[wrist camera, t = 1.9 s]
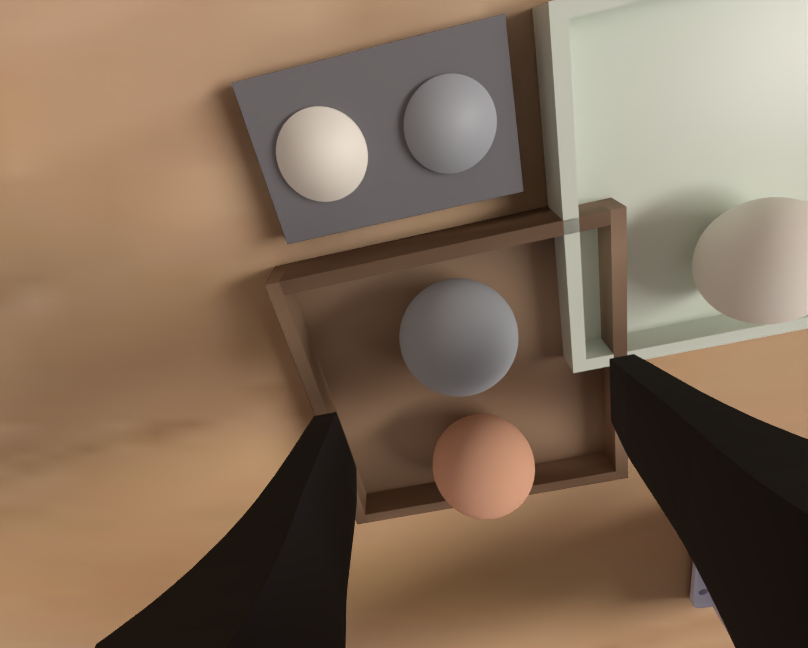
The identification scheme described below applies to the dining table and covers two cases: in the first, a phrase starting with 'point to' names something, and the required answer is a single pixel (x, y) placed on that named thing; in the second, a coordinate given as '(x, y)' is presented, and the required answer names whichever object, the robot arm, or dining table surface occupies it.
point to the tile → (387, 130)
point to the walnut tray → (433, 412)
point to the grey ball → (458, 337)
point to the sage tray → (666, 150)
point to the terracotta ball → (483, 466)
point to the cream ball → (756, 261)
